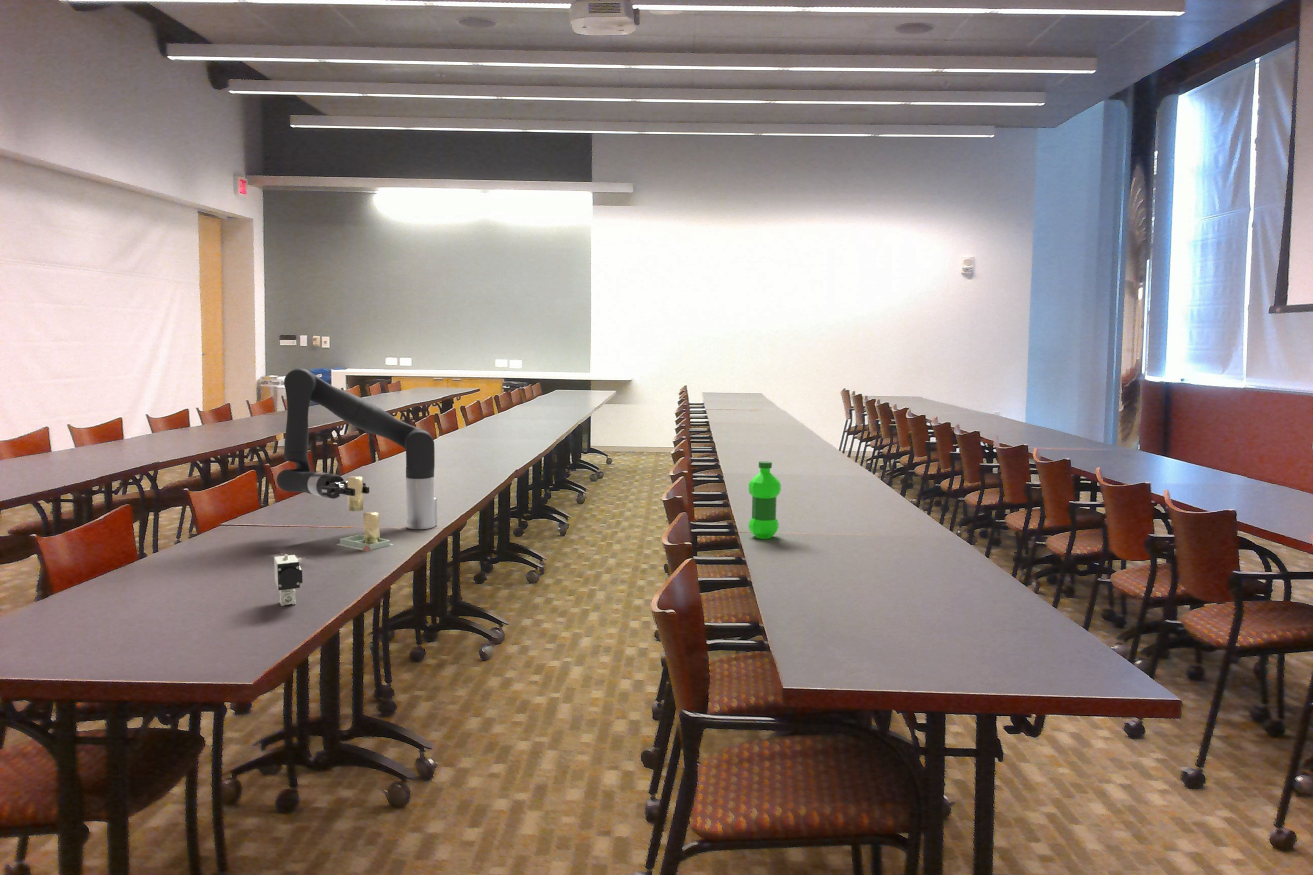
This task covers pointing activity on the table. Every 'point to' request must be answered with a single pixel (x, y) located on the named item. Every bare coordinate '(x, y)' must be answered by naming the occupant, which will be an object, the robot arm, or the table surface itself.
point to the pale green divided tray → (362, 543)
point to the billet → (355, 501)
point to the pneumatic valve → (287, 577)
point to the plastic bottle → (764, 502)
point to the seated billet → (371, 527)
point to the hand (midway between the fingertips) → (361, 491)
